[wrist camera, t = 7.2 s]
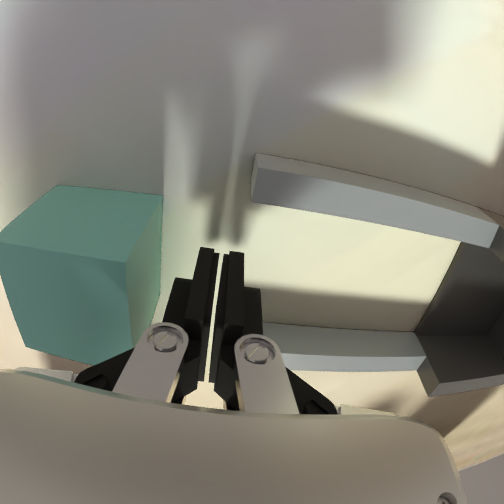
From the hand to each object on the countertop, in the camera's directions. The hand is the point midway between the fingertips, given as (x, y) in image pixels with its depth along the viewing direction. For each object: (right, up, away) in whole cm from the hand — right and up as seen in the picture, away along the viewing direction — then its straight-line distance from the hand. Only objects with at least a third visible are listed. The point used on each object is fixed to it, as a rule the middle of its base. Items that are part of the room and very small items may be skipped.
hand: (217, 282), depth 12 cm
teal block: (-5, +2, +1) cm, 5 cm away
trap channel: (+10, 0, +3) cm, 10 cm away
